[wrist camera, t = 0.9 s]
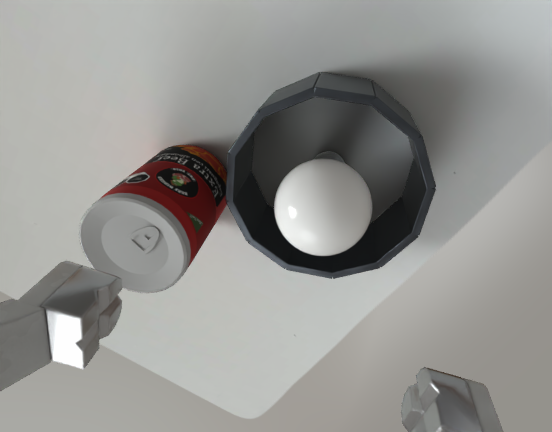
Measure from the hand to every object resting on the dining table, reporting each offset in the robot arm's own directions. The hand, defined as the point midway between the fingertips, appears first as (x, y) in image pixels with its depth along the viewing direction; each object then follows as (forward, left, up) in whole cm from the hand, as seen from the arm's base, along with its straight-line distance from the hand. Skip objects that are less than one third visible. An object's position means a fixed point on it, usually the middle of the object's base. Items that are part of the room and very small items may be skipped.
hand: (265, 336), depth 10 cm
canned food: (+11, +8, -23) cm, 27 cm away
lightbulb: (-1, +4, -23) cm, 24 cm away
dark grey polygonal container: (-1, +4, -23) cm, 23 cm away
